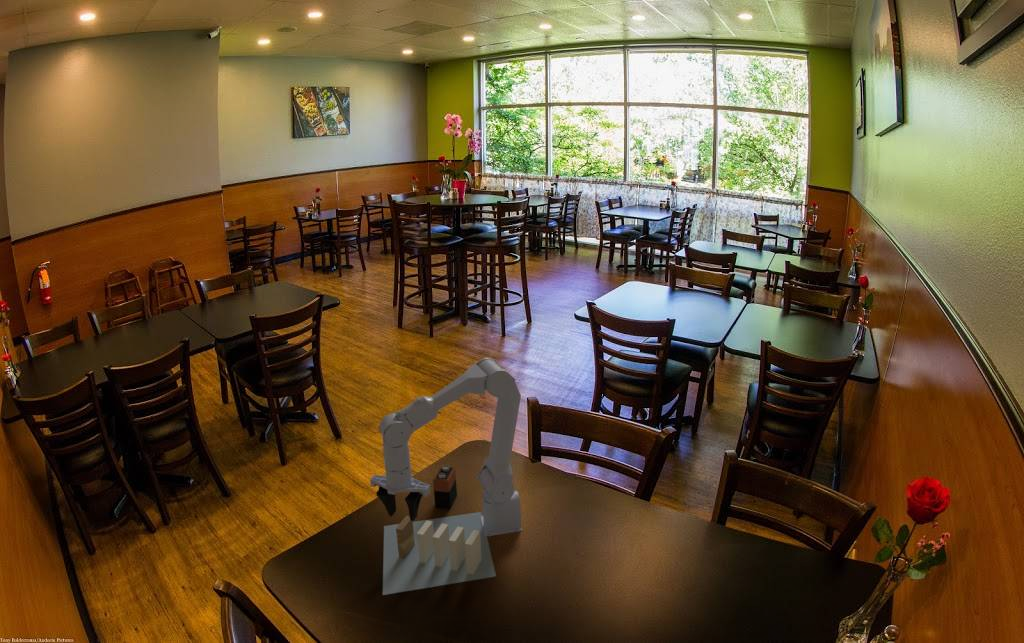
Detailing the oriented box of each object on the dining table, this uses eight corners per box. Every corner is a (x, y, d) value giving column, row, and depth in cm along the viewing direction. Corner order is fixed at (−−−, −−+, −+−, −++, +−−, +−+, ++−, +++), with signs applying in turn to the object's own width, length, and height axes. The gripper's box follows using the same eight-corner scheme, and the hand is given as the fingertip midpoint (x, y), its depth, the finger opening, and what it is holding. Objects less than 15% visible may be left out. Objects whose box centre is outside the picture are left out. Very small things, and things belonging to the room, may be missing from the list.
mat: (481, 513, 154) (480, 511, 154) (496, 577, 132) (496, 576, 132) (384, 527, 150) (384, 526, 150) (382, 596, 127) (382, 595, 127)
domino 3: (450, 569, 134) (448, 540, 132) (459, 554, 139) (457, 526, 136) (457, 570, 134) (455, 541, 131) (465, 556, 138) (463, 527, 136)
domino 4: (466, 573, 133) (464, 543, 130) (475, 558, 137) (473, 529, 135) (473, 574, 132) (471, 545, 130) (481, 559, 137) (480, 530, 134)
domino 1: (419, 562, 137) (416, 533, 134) (429, 548, 141) (426, 520, 139) (425, 563, 136) (423, 534, 134) (435, 549, 141) (432, 521, 138)
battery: (457, 495, 162) (455, 464, 159) (450, 510, 156) (447, 478, 153) (442, 494, 163) (440, 462, 160) (434, 509, 157) (431, 476, 153)
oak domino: (398, 557, 138) (395, 528, 136) (409, 543, 143) (406, 515, 140) (404, 558, 138) (401, 530, 136) (414, 544, 142) (412, 517, 140)
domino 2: (435, 565, 135) (432, 536, 133) (444, 551, 140) (442, 523, 137) (441, 567, 135) (438, 538, 132) (450, 552, 139) (448, 524, 137)
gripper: (360, 469, 132) (367, 520, 136) (418, 479, 127) (423, 532, 131) (377, 453, 138) (382, 503, 142) (432, 463, 134) (436, 513, 138)
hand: (403, 516), depth 137 cm, fingers open, 5 cm apart
